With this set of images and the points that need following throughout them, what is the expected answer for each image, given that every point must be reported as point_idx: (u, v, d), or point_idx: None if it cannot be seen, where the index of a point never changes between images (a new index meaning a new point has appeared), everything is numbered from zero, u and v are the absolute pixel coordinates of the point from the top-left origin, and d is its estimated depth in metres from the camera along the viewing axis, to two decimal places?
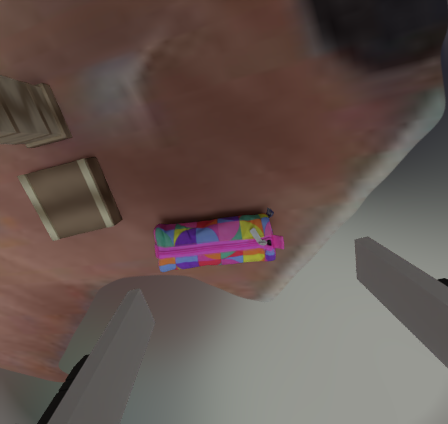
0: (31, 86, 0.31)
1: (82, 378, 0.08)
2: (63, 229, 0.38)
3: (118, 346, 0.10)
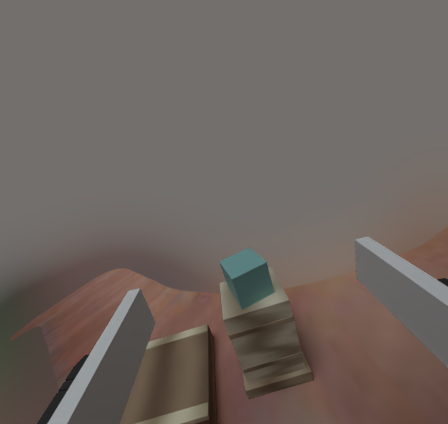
0: (300, 358, 0.24)
1: (82, 378, 0.08)
2: None
3: (118, 346, 0.10)
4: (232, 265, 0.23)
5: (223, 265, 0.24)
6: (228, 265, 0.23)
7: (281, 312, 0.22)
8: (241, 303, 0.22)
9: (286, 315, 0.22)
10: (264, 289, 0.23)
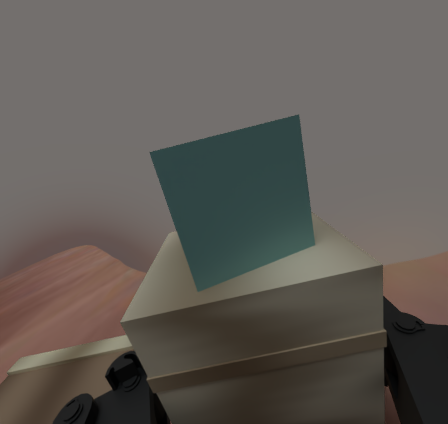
0: None
1: None
2: (8, 392, 0.15)
3: None
4: None
5: None
6: None
7: (343, 312, 0.06)
8: (194, 265, 0.06)
9: (359, 327, 0.06)
10: (282, 227, 0.06)
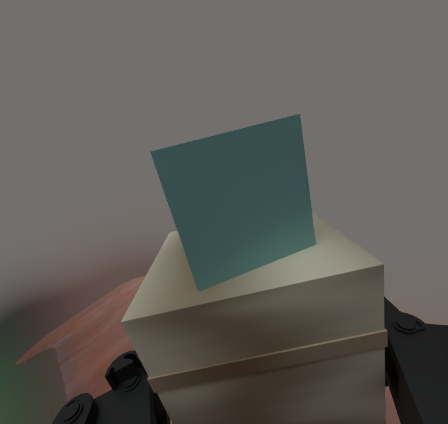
0: None
1: None
2: None
3: None
4: None
5: None
6: None
7: (344, 312, 0.06)
8: (194, 265, 0.06)
9: (360, 326, 0.06)
10: (283, 226, 0.06)
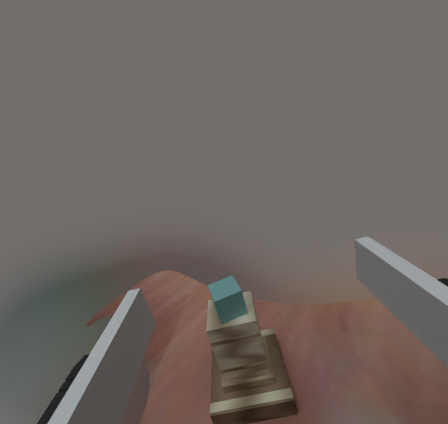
0: (266, 366, 0.31)
1: (82, 378, 0.08)
2: None
3: (118, 346, 0.10)
4: (216, 290, 0.30)
5: (210, 289, 0.31)
6: (213, 289, 0.30)
7: (250, 329, 0.29)
8: (220, 319, 0.29)
9: (254, 332, 0.29)
10: (239, 310, 0.30)
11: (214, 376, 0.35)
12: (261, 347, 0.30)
